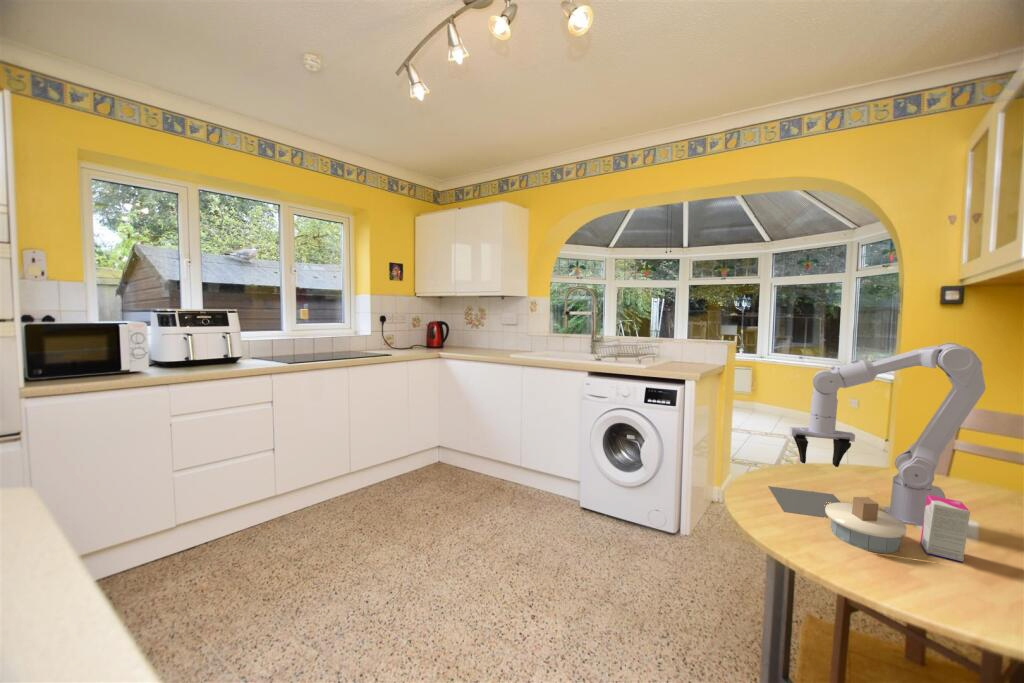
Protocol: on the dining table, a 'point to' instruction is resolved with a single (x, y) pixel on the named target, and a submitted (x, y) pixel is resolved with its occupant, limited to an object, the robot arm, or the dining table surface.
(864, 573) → the dining table surface
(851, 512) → the lid
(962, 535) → the supplement box
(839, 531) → the bowl
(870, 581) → the dining table surface
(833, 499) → the mat
